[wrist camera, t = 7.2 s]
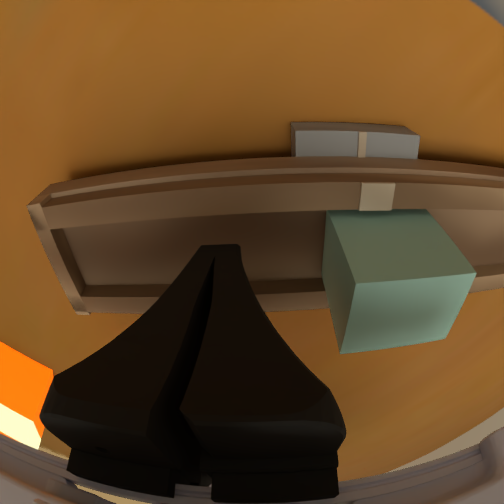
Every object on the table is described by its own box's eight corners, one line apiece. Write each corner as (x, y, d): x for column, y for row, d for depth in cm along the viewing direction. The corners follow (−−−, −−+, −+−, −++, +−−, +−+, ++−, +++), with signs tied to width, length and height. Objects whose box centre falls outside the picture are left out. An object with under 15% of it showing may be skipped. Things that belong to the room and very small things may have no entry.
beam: (509, 261, 16) (536, 296, 13) (106, 283, 17) (84, 329, 14) (543, 151, 11) (583, 178, 8) (61, 152, 12) (17, 184, 9)
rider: (408, 268, 12) (444, 338, 9) (321, 274, 13) (339, 354, 9) (424, 207, 11) (476, 272, 7) (326, 208, 11) (355, 283, 8)
